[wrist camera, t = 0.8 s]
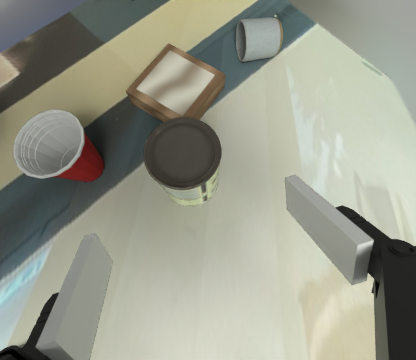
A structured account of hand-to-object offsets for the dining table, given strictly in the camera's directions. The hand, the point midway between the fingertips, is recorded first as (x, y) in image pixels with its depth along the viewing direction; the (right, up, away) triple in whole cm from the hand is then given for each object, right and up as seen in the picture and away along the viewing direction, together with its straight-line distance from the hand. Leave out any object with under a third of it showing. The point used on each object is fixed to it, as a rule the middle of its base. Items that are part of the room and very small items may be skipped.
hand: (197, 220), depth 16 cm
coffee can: (-3, +3, +28) cm, 28 cm away
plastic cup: (-23, +5, +29) cm, 37 cm away
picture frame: (-6, +21, +33) cm, 40 cm away
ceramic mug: (+11, +32, +37) cm, 50 cm away
